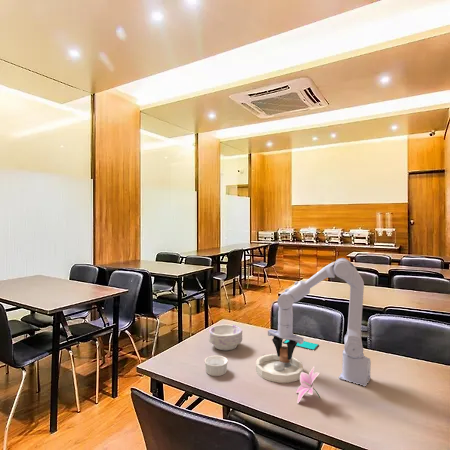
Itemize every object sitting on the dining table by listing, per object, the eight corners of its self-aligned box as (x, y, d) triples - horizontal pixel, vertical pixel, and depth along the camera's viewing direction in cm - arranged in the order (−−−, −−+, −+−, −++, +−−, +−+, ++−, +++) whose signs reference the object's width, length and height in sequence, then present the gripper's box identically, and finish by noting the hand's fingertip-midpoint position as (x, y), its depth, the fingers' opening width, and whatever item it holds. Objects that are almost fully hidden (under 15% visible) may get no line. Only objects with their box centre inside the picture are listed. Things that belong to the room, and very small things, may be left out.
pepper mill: (291, 360, 127) (291, 347, 127) (286, 363, 124) (287, 351, 124) (282, 357, 129) (282, 345, 129) (277, 360, 126) (277, 348, 126)
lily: (303, 387, 113) (291, 364, 112) (335, 383, 107) (322, 359, 106) (296, 415, 103) (282, 391, 102) (330, 412, 97) (316, 387, 96)
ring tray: (309, 369, 124) (309, 362, 124) (290, 388, 110) (290, 380, 110) (269, 356, 135) (269, 350, 135) (247, 372, 121) (247, 365, 121)
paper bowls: (203, 343, 149) (204, 326, 149) (233, 338, 155) (233, 322, 155) (216, 356, 135) (217, 337, 135) (248, 350, 142) (248, 332, 141)
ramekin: (225, 378, 117) (225, 366, 116) (201, 375, 118) (201, 364, 118) (229, 367, 125) (229, 356, 125) (207, 365, 127) (207, 354, 127)
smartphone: (288, 337, 156) (318, 344, 148) (288, 339, 156) (318, 346, 148) (282, 342, 150) (314, 349, 142) (282, 344, 150) (314, 351, 142)
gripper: (306, 324, 125) (306, 358, 125) (273, 317, 134) (273, 349, 134) (299, 329, 119) (298, 365, 120) (265, 321, 128) (264, 354, 128)
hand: (284, 357), depth 126 cm, fingers closed on pepper mill, 4 cm apart
